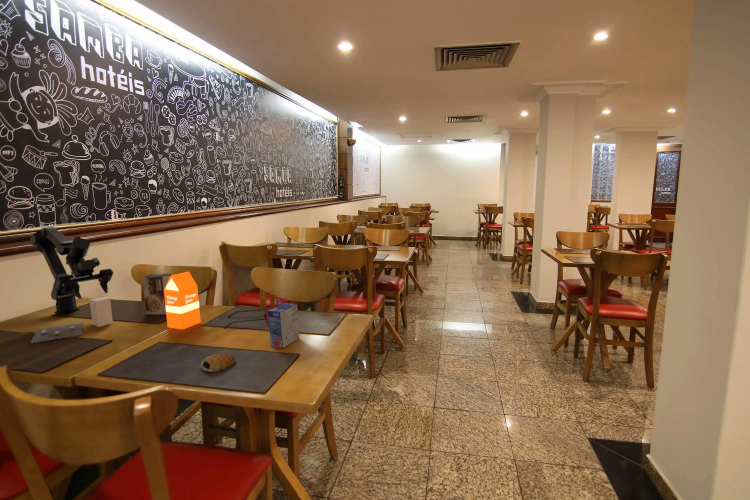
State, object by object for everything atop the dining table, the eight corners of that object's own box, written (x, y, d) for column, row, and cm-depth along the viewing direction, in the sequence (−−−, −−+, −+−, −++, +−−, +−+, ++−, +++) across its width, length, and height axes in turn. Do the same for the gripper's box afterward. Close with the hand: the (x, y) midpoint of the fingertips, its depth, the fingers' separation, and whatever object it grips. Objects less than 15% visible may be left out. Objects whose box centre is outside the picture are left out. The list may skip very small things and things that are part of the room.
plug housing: (92, 324, 159) (89, 299, 158) (106, 321, 163) (103, 296, 162) (98, 326, 157) (95, 301, 155) (112, 323, 161) (109, 298, 159)
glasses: (269, 325, 156) (268, 312, 155) (223, 329, 152) (222, 316, 151) (269, 314, 169) (269, 303, 168) (227, 318, 165) (226, 306, 164)
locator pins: (42, 334, 148) (41, 330, 147) (74, 328, 153) (74, 325, 152) (40, 338, 143) (39, 334, 143) (73, 332, 148) (73, 328, 148)
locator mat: (37, 331, 153) (36, 329, 152) (83, 324, 160) (82, 322, 160) (30, 344, 139) (30, 342, 139) (81, 335, 147) (81, 334, 147)
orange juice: (167, 327, 155) (162, 275, 152) (185, 320, 163) (181, 270, 160) (182, 329, 152) (178, 276, 149) (201, 322, 160) (196, 271, 157)
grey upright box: (175, 310, 177) (171, 273, 174) (166, 314, 170) (162, 276, 168) (155, 309, 178) (151, 273, 175) (145, 314, 171) (141, 276, 169)
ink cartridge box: (286, 336, 143) (284, 295, 141) (300, 338, 141) (298, 297, 139) (269, 346, 134) (266, 303, 132) (283, 348, 132) (281, 304, 130)
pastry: (226, 358, 126) (225, 346, 125) (241, 363, 122) (240, 351, 121) (198, 369, 118) (197, 357, 117) (213, 375, 114) (212, 362, 114)
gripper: (54, 255, 154) (70, 287, 149) (108, 249, 169) (124, 278, 165) (48, 274, 159) (64, 305, 155) (101, 266, 175) (117, 294, 170)
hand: (94, 295), depth 161 cm, fingers open, 9 cm apart
